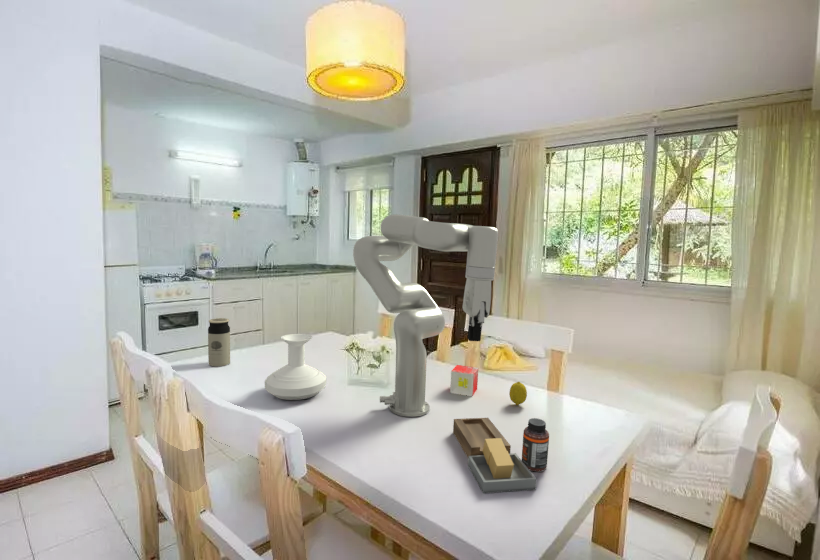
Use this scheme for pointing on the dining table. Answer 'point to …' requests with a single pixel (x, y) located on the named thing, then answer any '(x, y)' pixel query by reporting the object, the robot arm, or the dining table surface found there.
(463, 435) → the slot block
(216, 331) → the travel mug
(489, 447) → the yellow cube
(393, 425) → the dining table surface
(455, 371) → the red patterned box
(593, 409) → the dining table surface
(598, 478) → the dining table surface
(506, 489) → the tray
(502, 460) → the yellow wooden cube
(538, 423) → the supplement bottle
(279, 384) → the white vase
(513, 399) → the lemon
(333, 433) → the dining table surface
